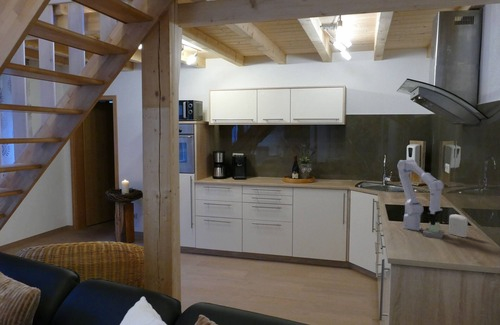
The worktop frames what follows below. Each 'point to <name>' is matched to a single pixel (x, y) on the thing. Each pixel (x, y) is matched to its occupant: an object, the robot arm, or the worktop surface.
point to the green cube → (434, 227)
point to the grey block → (433, 233)
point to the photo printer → (458, 225)
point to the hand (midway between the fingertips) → (433, 223)
